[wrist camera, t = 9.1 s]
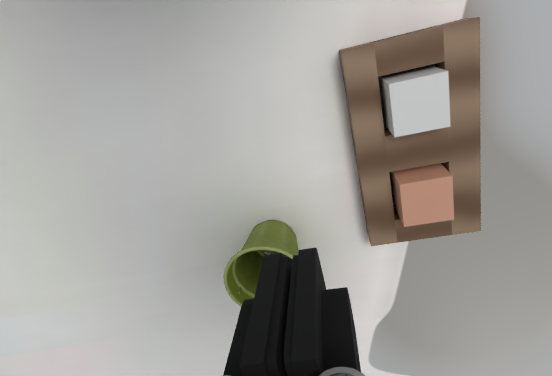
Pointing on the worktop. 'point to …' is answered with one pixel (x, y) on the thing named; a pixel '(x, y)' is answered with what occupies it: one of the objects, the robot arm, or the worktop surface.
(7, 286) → the worktop surface
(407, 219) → the terracotta key
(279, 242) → the plant pot
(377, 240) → the brown rectangular frame
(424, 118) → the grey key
